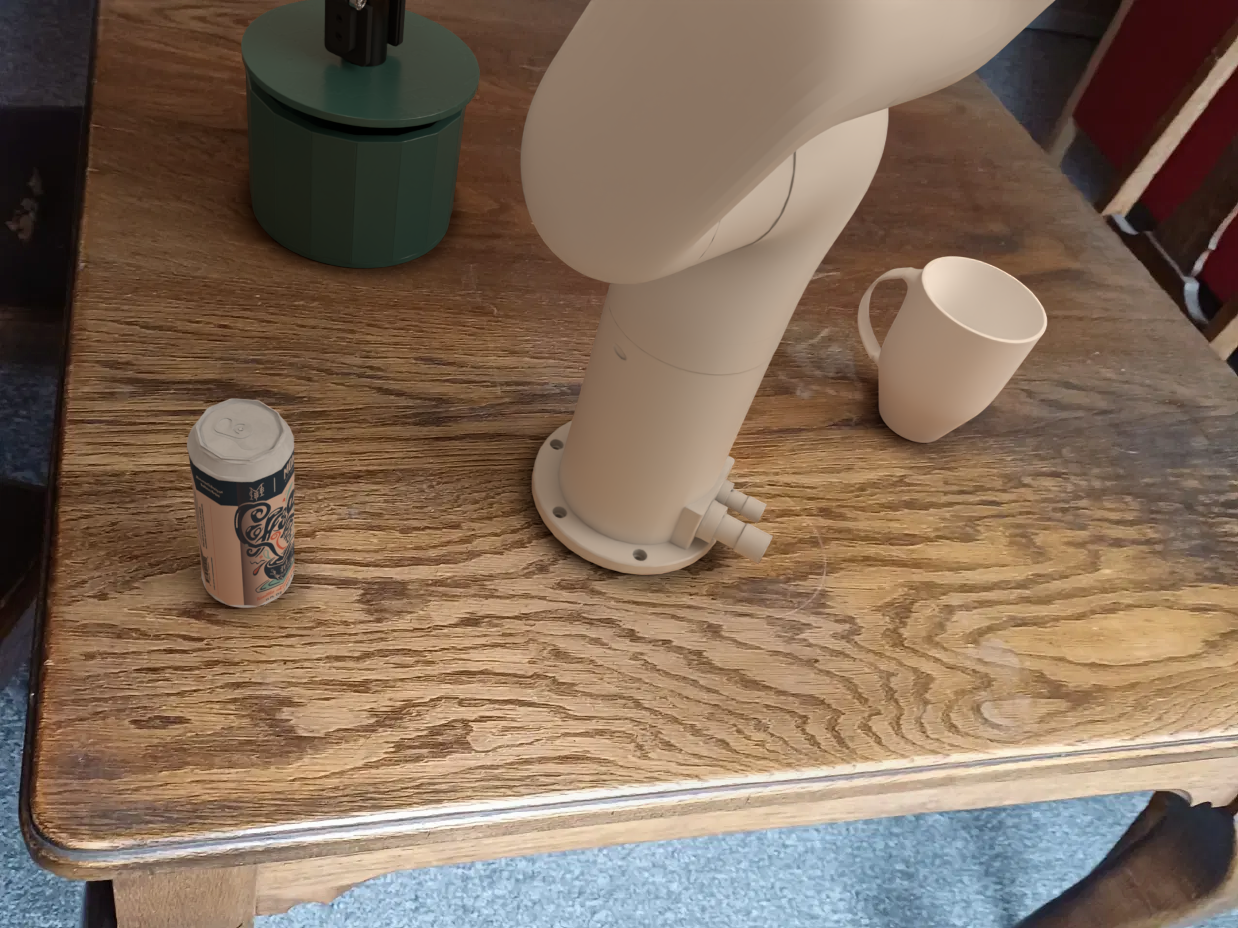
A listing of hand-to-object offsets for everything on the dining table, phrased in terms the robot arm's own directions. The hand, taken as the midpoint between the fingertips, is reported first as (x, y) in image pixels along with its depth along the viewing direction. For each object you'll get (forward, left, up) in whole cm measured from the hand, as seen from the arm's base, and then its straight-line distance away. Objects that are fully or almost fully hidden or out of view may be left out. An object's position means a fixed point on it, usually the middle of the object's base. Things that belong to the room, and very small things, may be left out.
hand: (364, 45), depth 72 cm
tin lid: (0, 0, -1) cm, 1 cm away
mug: (-43, -7, -14) cm, 45 cm away
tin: (0, 0, -13) cm, 13 cm away
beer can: (-15, +31, -14) cm, 37 cm away
